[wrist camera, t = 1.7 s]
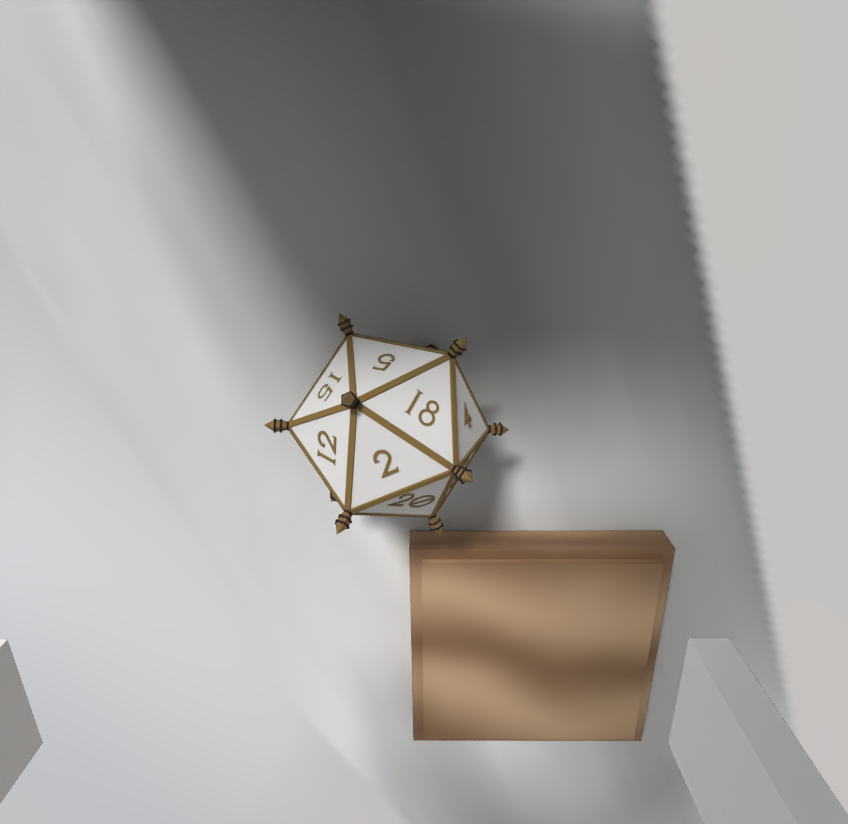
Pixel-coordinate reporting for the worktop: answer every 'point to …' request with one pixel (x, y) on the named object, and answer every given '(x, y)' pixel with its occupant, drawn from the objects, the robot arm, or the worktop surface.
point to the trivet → (535, 633)
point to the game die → (389, 427)
